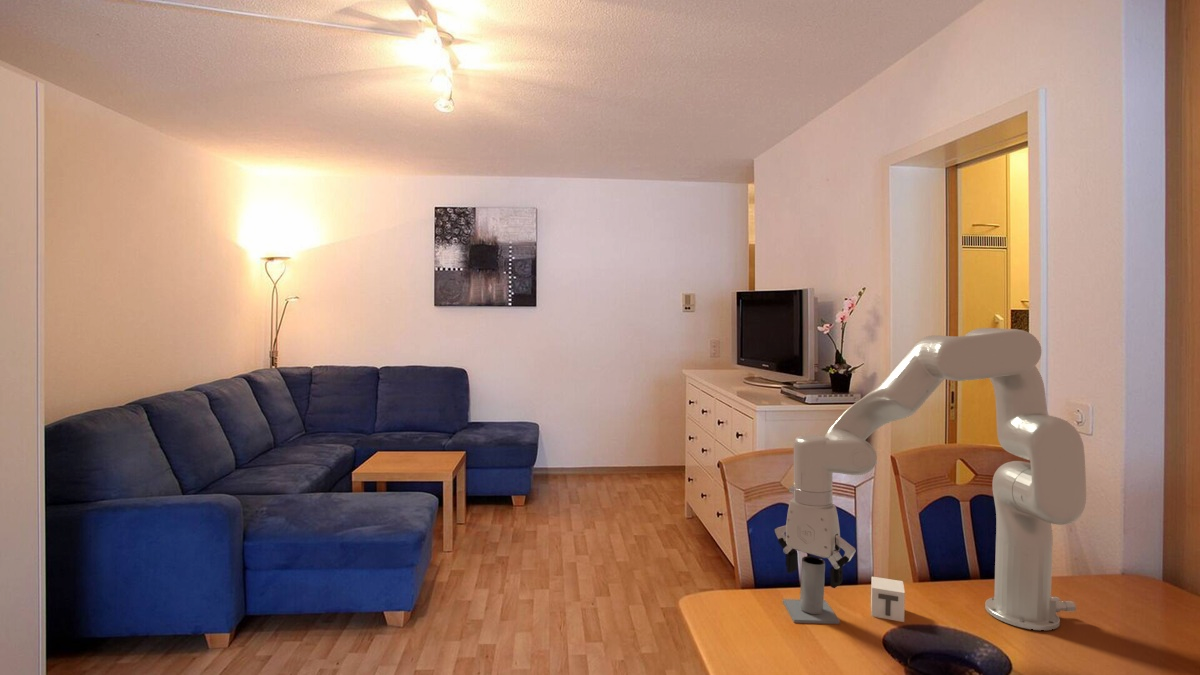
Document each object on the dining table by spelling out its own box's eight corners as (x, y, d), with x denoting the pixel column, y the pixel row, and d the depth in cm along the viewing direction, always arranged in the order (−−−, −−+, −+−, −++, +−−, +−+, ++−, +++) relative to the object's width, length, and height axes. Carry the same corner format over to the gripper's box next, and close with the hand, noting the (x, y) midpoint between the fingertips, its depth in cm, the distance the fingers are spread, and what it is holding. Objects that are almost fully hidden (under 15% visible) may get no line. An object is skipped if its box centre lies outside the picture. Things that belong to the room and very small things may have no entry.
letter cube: (870, 604, 131) (871, 576, 131) (902, 609, 129) (902, 581, 129) (871, 617, 125) (872, 588, 125) (904, 623, 123) (904, 593, 123)
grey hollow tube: (819, 605, 129) (822, 556, 129) (825, 615, 124) (827, 565, 124) (797, 603, 129) (799, 555, 129) (802, 613, 125) (804, 563, 125)
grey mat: (825, 602, 131) (825, 600, 131) (839, 624, 122) (839, 621, 122) (782, 601, 132) (782, 599, 132) (793, 622, 123) (794, 619, 123)
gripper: (766, 491, 130) (766, 571, 131) (845, 509, 117) (845, 597, 118) (785, 484, 135) (785, 561, 136) (862, 501, 122) (863, 585, 123)
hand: (813, 578), depth 127 cm, fingers open, 9 cm apart
